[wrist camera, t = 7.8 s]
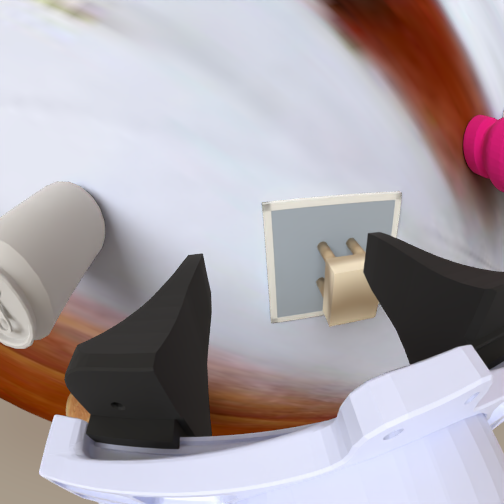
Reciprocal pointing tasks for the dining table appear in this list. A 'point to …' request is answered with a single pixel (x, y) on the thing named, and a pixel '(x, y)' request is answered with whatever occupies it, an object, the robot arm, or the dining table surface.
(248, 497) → the robot arm
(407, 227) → the dining table surface
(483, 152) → the pepper mill
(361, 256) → the small wooden stool
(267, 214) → the mat
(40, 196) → the can
